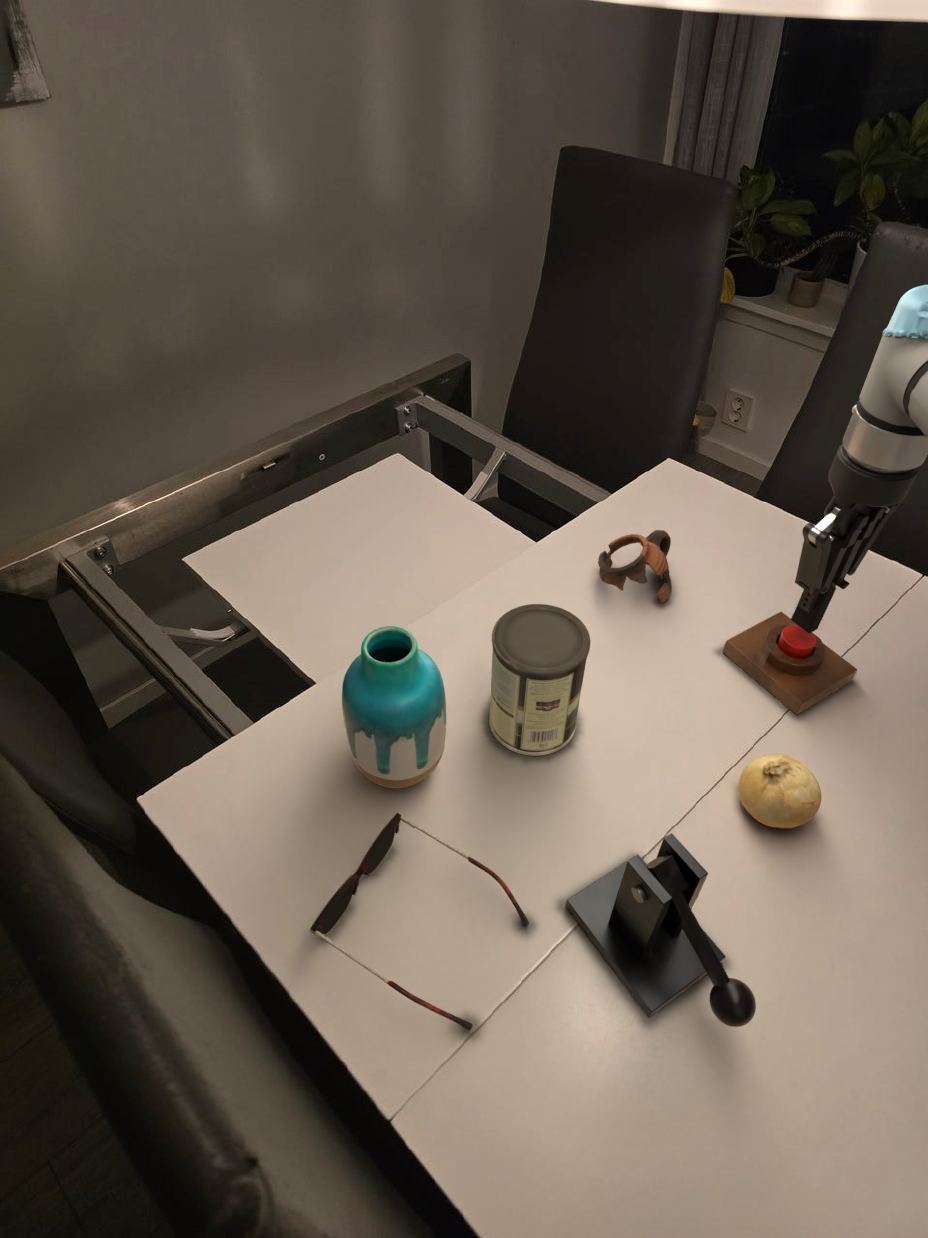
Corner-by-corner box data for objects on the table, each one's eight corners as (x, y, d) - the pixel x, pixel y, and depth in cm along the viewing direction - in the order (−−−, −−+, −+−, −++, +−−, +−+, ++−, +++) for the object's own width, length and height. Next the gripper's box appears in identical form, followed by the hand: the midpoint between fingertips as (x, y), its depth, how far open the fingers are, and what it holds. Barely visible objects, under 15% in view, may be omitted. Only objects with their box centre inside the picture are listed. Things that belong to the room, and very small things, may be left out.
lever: (746, 1008, 66) (773, 1013, 63) (715, 1033, 65) (741, 1039, 61) (660, 853, 69) (681, 850, 65) (629, 873, 67) (649, 872, 64)
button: (818, 650, 95) (823, 640, 94) (796, 663, 93) (800, 653, 92) (792, 630, 97) (797, 620, 96) (770, 643, 96) (774, 633, 95)
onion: (775, 765, 87) (794, 726, 82) (827, 822, 82) (851, 784, 77) (718, 791, 85) (734, 752, 80) (767, 851, 80) (788, 814, 75)
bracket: (722, 962, 72) (761, 898, 63) (649, 1018, 68) (678, 958, 59) (635, 860, 79) (658, 789, 70) (565, 906, 76) (579, 837, 67)
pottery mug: (659, 621, 104) (635, 578, 100) (602, 613, 111) (578, 572, 107) (699, 557, 109) (678, 513, 104) (642, 553, 116) (620, 512, 111)
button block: (851, 681, 96) (863, 659, 93) (796, 715, 92) (807, 693, 90) (776, 622, 103) (785, 600, 101) (722, 652, 100) (729, 630, 97)
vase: (342, 738, 90) (322, 619, 76) (431, 715, 92) (427, 596, 78) (363, 815, 82) (345, 700, 69) (459, 789, 85) (460, 672, 71)
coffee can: (538, 674, 97) (548, 590, 87) (594, 729, 91) (611, 646, 81) (470, 711, 92) (472, 627, 83) (524, 772, 86) (533, 689, 77)
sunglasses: (397, 834, 81) (397, 809, 77) (534, 916, 76) (541, 894, 72) (313, 949, 72) (308, 927, 69) (461, 1050, 67) (465, 1032, 64)
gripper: (889, 418, 81) (815, 586, 97) (804, 455, 76) (741, 625, 92) (955, 452, 76) (866, 622, 93) (869, 493, 71) (791, 666, 88)
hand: (804, 624), depth 93 cm, fingers closed
